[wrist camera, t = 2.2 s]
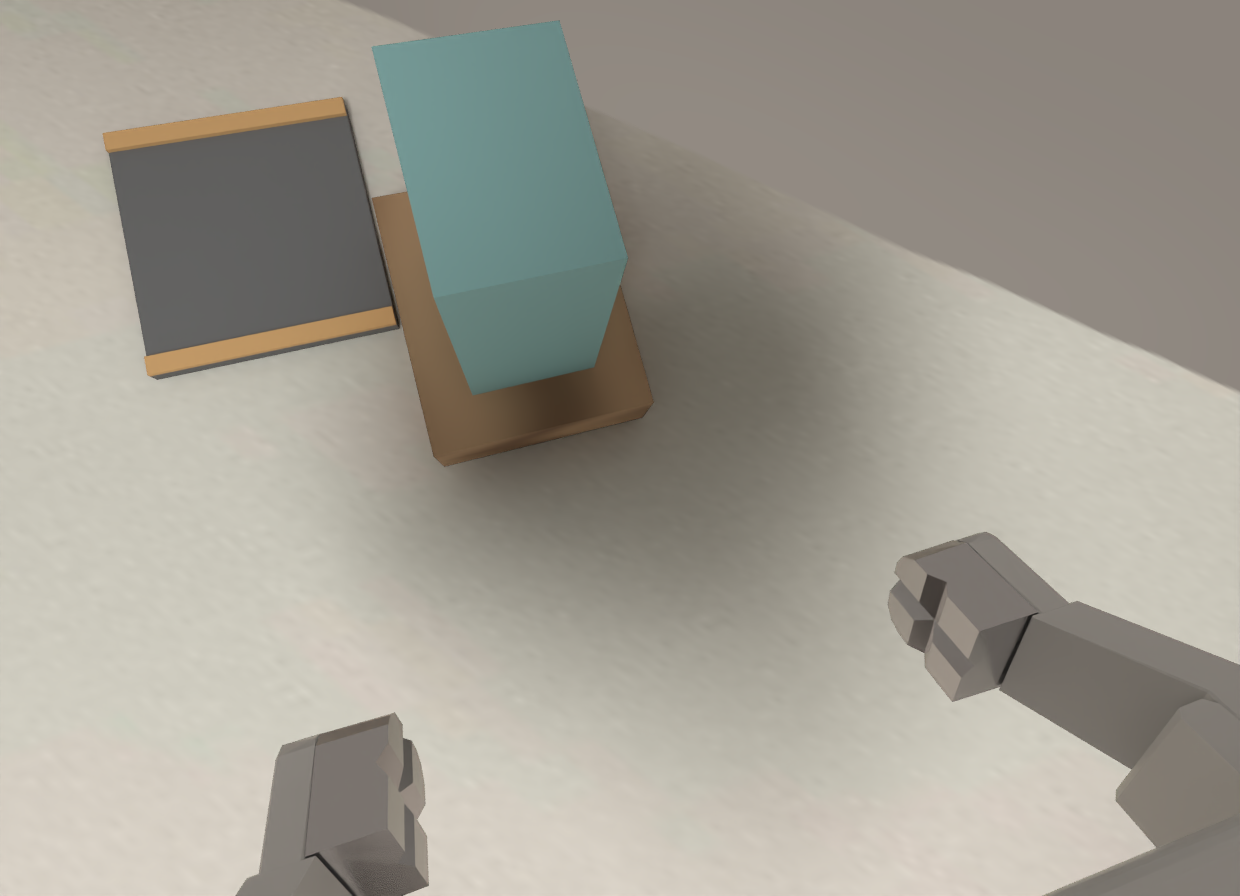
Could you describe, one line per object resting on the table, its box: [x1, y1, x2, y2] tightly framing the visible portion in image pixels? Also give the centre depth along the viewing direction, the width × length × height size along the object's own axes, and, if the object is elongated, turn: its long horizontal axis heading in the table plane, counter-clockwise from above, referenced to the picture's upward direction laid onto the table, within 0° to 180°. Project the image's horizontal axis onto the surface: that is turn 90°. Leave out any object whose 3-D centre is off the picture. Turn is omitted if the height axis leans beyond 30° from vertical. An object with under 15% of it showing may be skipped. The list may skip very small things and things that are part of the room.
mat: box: [103, 97, 399, 380], centre depth 28 cm, size 10×11×1 cm
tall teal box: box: [372, 21, 628, 395], centre depth 22 cm, size 5×7×10 cm
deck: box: [372, 192, 654, 467], centre depth 28 cm, size 9×11×3 cm
